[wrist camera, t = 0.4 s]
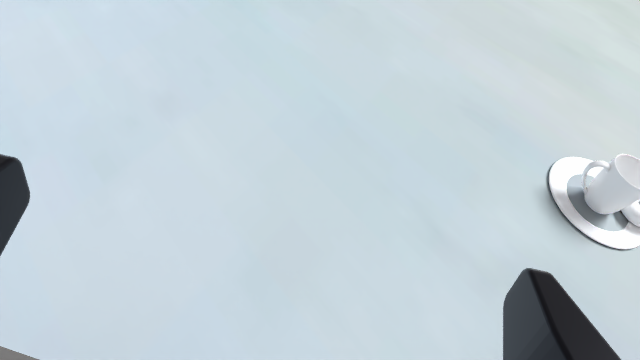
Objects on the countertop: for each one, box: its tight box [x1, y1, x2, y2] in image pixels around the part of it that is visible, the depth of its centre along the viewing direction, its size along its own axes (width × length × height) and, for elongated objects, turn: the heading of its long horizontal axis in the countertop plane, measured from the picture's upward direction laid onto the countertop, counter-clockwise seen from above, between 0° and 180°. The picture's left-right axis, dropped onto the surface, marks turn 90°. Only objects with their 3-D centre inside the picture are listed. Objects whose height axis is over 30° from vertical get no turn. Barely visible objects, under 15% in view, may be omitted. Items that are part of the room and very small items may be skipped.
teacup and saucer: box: [549, 154, 640, 249], centre depth 35 cm, size 9×8×4 cm
